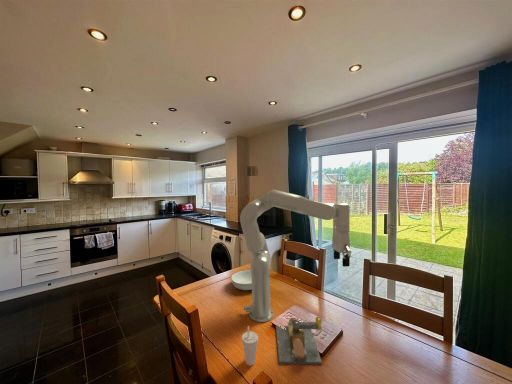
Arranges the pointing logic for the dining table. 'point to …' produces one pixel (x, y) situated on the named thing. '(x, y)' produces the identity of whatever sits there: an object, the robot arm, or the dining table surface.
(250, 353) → the smoothie
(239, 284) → the serving bowl
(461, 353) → the dining table surface
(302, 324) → the lever
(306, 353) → the valve body
